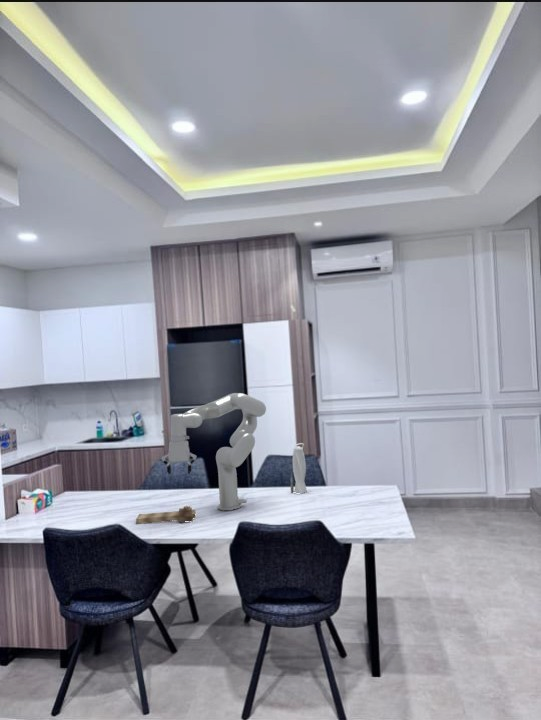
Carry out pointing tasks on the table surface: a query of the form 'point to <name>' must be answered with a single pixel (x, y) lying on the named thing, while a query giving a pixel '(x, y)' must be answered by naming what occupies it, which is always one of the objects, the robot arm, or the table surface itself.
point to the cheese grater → (298, 470)
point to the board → (159, 517)
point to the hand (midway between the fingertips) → (179, 473)
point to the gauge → (185, 514)
